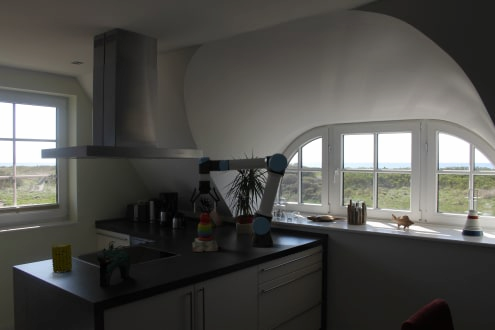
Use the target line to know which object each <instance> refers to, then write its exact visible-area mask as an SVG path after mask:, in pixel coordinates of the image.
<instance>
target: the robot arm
mask: <svg viewBox="0 0 495 330" xmlns="http://www.w3.org/2000/svg"><path fill="white" fill-rule="evenodd" d="M287 166H288V158H287V157H286V156H285V155H284V154H283V153H280V152H279V153H278V152H277V153H274V154H272V155H266V156H265V157H254V158H253V157H252V158H238V159H237V158H235V159H211V158H210V156H206V157H203V156H201V157H199V158H198V180H199V181H198V187H194V188H193V192H192V195H191V196H190V199H189V203H192V204H191V205H192V208H193V213H196V201H197V199H198V198H199V197H200V196H201V195H209V196H210V197H211V198H212V199H213V201H214V202H213V204H214V213H216V212H217V208H218V202H220V201H221V199H220V197H219V195H218V193H217V192H216V188H215V187H211V172H227V171H243V170H244V171H245V170H263V169H264V170H266V173H267V177H266V181H265V185H264V187H263V192H262V196H261V200H260V205H259V207H258V210H256V211H255V212H254V213H253V220H252V223H251V227H252V230H253V236H252V240H251V246H252V247H254V248H256V247H257V248H271V247H273V246H274V240H273V237H272V232H271V231H272V230H271V229H272V227H271V226H272V221H273V218H274V215H273V213H272V212H273V209H274V204H275V202H276V201H275V200H276V197H277V193H278V189H279V185H280V182H281V179H282V177H284V176H285V173H286V169H287ZM198 191H199V192H198ZM211 191H213V193H214V195H213V194H212V193H211ZM197 192H198V194H197V195H196V196H195V194H196V193H197ZM194 196H195V198H194ZM215 197H216V198H215Z"/></svg>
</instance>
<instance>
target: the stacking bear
mask: <svg viewBox="0 0 495 330" xmlns="http://www.w3.org/2000/svg"><path fill="white" fill-rule="evenodd" d="M199 219H200V222H199V223H198V225H197V235H198V237H197V238H198V240H199V241H211V240H212V239H215V237H214V236H213V235H212V233H213V232H212V230H213V228H212V224H211V222H210V221H211V219H212V217H211V216H210V214H208V213H206V212H203V213H201V214H200V216H199Z"/></svg>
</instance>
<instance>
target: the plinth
mask: <svg viewBox="0 0 495 330" xmlns="http://www.w3.org/2000/svg"><path fill="white" fill-rule="evenodd" d="M218 248H219V246H218V243H217V241H216V240H215V238H214V239H212V240H211V241H199V240H198V237H197V238H196V237H195V238H194V241H193V242H192V252H193V253H198V252H199V253H200V252H201V253H202V252H203V251H205V252H218V251H219V249H218Z"/></svg>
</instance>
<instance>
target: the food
mask: <svg viewBox="0 0 495 330" xmlns="http://www.w3.org/2000/svg"><path fill="white" fill-rule="evenodd" d="M51 248H52V249H51V256H52V257H51V263H52V264H51V265H52V272H54V273H66V272H67V271H70V270H72V269H73V259H72V258H73V256H72V254H73V253H72V244H71V243H58V244H53V245H52V247H51Z"/></svg>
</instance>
